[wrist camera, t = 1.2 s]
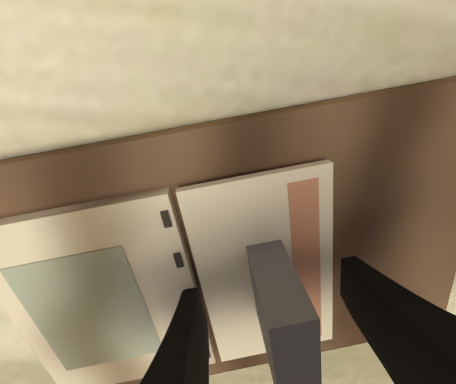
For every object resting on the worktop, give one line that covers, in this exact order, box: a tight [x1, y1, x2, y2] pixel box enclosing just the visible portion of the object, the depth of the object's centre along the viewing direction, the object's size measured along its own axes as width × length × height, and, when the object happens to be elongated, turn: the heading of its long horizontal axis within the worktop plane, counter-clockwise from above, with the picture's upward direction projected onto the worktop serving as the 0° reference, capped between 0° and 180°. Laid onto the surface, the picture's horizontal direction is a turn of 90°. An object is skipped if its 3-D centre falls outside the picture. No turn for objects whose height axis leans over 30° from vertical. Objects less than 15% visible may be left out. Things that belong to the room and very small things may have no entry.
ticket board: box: [0, 76, 456, 384], centre depth 13 cm, size 22×14×2 cm, turn 99°
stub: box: [176, 159, 333, 384], centre depth 10 cm, size 6×10×4 cm, turn 9°
